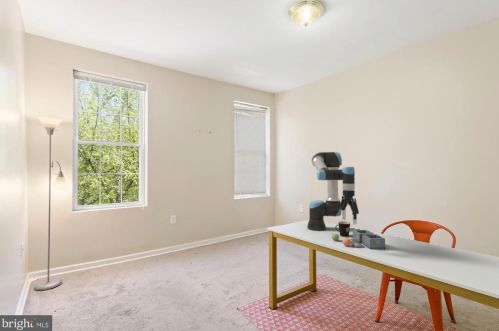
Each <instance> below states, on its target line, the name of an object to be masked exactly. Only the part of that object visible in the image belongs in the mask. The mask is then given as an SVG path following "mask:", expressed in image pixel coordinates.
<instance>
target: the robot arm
mask: <svg viewBox="0 0 499 331" xmlns="http://www.w3.org/2000/svg"><path fill="white" fill-rule="evenodd" d="M311 164H312V166H313V167H315V169H316V178H317V180H319V181H327V182H326V184H327V189H326V190H327V197H326V199H325V201H324V200H322V199H321V200H313V201H310V202H309V204H308V211H309V212H308V214H309V215H308V216H309V217H308V218H309V219H308V222H307V227H306V228H307V230H311V231H325V230H327V227H326V223H325V219H324V217H341V221H346V219H347V218H346V217H347V213H346V212H347V211H346V208H347V206H349V207H350V210H351V212H352V213H351V220H352V221H351V225H357V224H358V221H357V220H358V217H357V216H358V215H359V213H360V211H359V206H358V204H357V199H356V198H354V197H355V195H356V191H355V190H356V189H355V188H356V187H355V185H356V182H355V179H356V178H355V176H356V175H355V173H356V172H355V167H354V166H343V167H342V168H341V169H340V167H341V166H342V164H343V158H342V155H341V153H340V152H338V151H322V152H321V151H320V152H317V153H315V154H314V155H313V157H312V158H311ZM339 181H342V185H341V186H342V195H341V199H340V198H339Z"/></svg>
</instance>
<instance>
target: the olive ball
mask: <svg viewBox="0 0 499 331" xmlns="http://www.w3.org/2000/svg"><path fill="white" fill-rule="evenodd" d="M331 239H332V241H339V240H340V234H338V233H333V234H331Z"/></svg>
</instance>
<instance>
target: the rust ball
mask: <svg viewBox="0 0 499 331" xmlns="http://www.w3.org/2000/svg"><path fill="white" fill-rule="evenodd" d="M349 239H350V238H348V237H344V239H343V240H342V244H343V246H345V247H349V246H351V241H350V240H349Z"/></svg>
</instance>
